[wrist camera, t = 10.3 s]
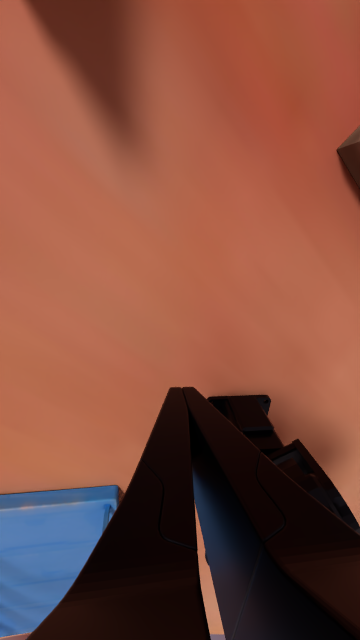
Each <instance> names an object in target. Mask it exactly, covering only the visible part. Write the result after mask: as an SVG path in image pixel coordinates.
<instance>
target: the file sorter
mask: <svg viewBox="0 0 360 640" xmlns="http://www.w3.org/2000/svg"><path fill="white" fill-rule="evenodd" d="M118 505H119V496H118V486H116V485H112V486H101V487H91V488H78V489H66V490H55V491H41V492H32V493H18V494H6V495H0V637H4V636H10V635H17V634H23V633H29V632H33V631H34V630H35V629H36V628H37V627H38V626H39V624H40V623H41V622H42V621H43V620H44V619H45V618H46V617H47V616H48V615H49V614H50V613H51V611H52V610H53V609H54V608H55V607H56V606H57V605H58V603H59V602H60V601H61V600H62V598H63V597H64V596H65V594H66V593H67V591H68V590H69V589H70V587H71V586H72V584H73V583H74V581H75V579H76V578H77V576H78V575H79V573H80V571H81V570H82V568H83V566H84V565H85V563H86V561H87V560H88V558H89V556H90V554H91V553H92V551H93V549H94V547H95V546H96V544H97V542H98V540H99V539H100V537H101V535H102V533H103V532H104V530H105V528H106V526H107V525H108V523H109V521H110V519H111V518H112V516H113V514H114V513H115V511H116V509H117V507H118Z"/></svg>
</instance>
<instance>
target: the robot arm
mask: <svg viewBox="0 0 360 640" xmlns="http://www.w3.org/2000/svg"><path fill="white" fill-rule="evenodd" d="M264 400H265V401H264ZM212 401H213V402H212ZM210 402H212V403H210ZM270 403H271V399H270V398H269V396H268V395H246V396H215V397H209V398H208V399H206V398H205V397H204V396H203V395H201V394H200V393H199V392H198V391H197V390H196V389H195V388H194V387H183V388H181V387H171V388H170V389H169V391H168V393H167V396H166V398H165V401H164V403H163V405H162V408H161V410H160V413H159V415H158V417H157V420H156V422H155V425H154V427H153V430H152V432H151V434H150V437H149V439H148V442H147V444H146V447H145V449H144V451H143V454H142V456H141V459H140V461H139V463H138V466H137V468H136V470H135V473H134V475H133V477H132V479H131V482H130V484H129V486H128V488H127V490H126V492H125V494H124V496H123V498H122V500H121V501H120V503H119V505H118V507H117V509H116V511H115V513H114V514H113V516H112V518H111V519H110V521H109V523H108V525H107V526H106V528H105V530H104V532H103V533H102V535H101V537H100V539H99V540H98V542H97V544H96V546H95V547H94V549H93V551H92V553H91V554H90V556H89V558H88V560H87V561H86V563H85V565H84V566H83V568H82V570H81V571H80V573H79V575H78V576H77V578H76V579H75V581H74V583H73V584H72V586H71V587H70V589H69V590H68V591H67V593H66V594H65V596H64V597H63V598H62V600H61V601H60V602H59V603H58V605H57V606H56V607H55V608H54V609H53V610H52V611H51V613H50V614H49V615H48V616H47V617H46V618H45V619H44V620H43V621H42V622H41V623H40V624H39V626H38V627H37V628H36V629H35V630H34V631H33V632H32V633H31V634H30V635H29V636H28V638H27V639H26V640H211V639H210V633H209V628H208V623H207V618H206V612H205V607H204V602H203V597H202V591H201V584H200V575H199V565H198V554H197V550H198V549H197V534H196V519H195V504H196V508H197V513H198V517H199V522H200V526H201V531H202V535H203V540H204V546H205V550H206V551H205V558H206V561H207V564H208V565H209V567H210V571H211V576H212V580H213V585H214V589H215V594H216V598H217V602H218V607H219V611H220V616H221V620H222V625H223V629H224V634H225V638H226V640H360V526H359V524H358V522H357V521H356V519H355V517H354V515H353V514H352V512H351V510H350V509H349V507H348V505H347V504H346V502H345V501H344V499H343V498H342V496H341V495H340V493H339V492H338V490H337V489H336V487H335V486H334V484H333V483H332V481H331V480H330V479H329V477H328V476H327V475H326V473H325V472H324V471H323V470H322V468H321V467H320V466H319V464H318V463H317V462H316V461H315V459H314V458H313V457H312V456H311V454H310V453H309V452H308V450H307V449H306V448H305V447H304V445H303V444H302V443H301V442H300V440H299V439H296V440H294V441H292V443H291V444H289V445H287V446H285V447H284V445H283V444H282V442H281V440H280V439H279V437H278V435H277V434H276V432H275V430H274V426H273V425H272V423H271V422H270V420H269V418H268V417H267V415H268V411H269V407H270ZM194 500H195V503H194Z"/></svg>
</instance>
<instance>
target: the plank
mask: <svg viewBox="0 0 360 640" xmlns="http://www.w3.org/2000/svg"><path fill="white" fill-rule="evenodd" d="M337 151H338V153H339V154H340V156H341V158H342V159H343V161H344V163H345V164H346V166H347V168H348V170H349V171H350V173H351V175H352V176H353V178H354V180H355V181H356V183H357V185H358V186H359V188H360V126H359V127H358V128H357V129H356V130H355V131H354V132H353V133H352V134H351V135H350V136H349V137H348V138H347V140H346V141H345V142H344V143H343V144H342V145H341V146H340V147H339V148H338V149H337Z"/></svg>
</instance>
